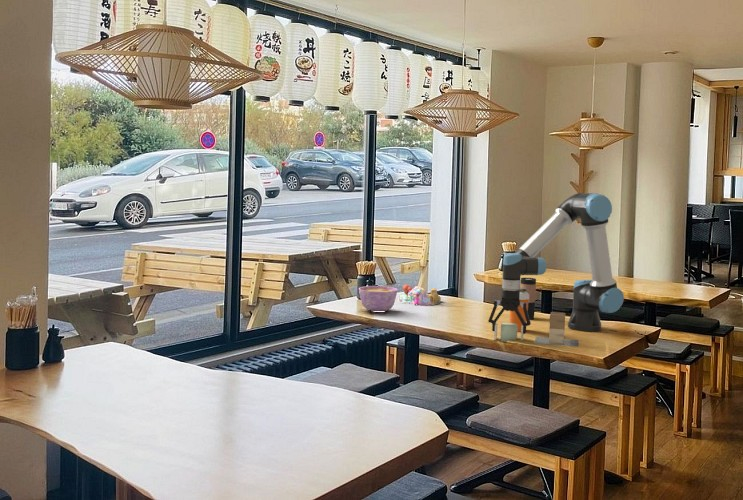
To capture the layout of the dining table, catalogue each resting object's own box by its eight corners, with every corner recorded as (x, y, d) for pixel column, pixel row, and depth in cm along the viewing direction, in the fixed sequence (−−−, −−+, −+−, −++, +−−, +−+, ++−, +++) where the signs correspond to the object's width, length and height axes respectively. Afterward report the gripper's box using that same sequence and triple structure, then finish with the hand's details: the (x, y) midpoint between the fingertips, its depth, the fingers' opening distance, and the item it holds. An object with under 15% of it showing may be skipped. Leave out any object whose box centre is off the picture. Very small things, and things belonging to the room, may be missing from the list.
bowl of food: (350, 310, 392) (350, 288, 391) (378, 306, 405) (379, 284, 404) (376, 316, 377) (377, 293, 376) (405, 312, 390) (406, 289, 389)
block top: (550, 325, 329) (550, 312, 328) (564, 326, 327) (565, 313, 326) (549, 328, 323) (550, 314, 322) (564, 329, 321) (564, 315, 321)
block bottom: (549, 339, 329) (550, 325, 329) (564, 340, 328) (564, 326, 327) (548, 342, 324) (549, 328, 323) (563, 343, 322) (564, 329, 321)
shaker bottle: (523, 335, 342) (525, 290, 340) (504, 332, 347) (506, 288, 344) (530, 331, 349) (532, 288, 347) (512, 329, 354) (513, 286, 352)
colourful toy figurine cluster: (442, 299, 433) (442, 283, 432) (441, 307, 409) (442, 290, 408) (398, 298, 435) (398, 281, 434) (395, 305, 412) (395, 288, 411)
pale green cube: (501, 338, 335) (502, 322, 334) (517, 339, 333) (518, 323, 332) (499, 341, 328) (500, 325, 327) (516, 342, 326) (516, 326, 325)
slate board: (535, 338, 334) (536, 336, 334) (578, 342, 330) (578, 340, 329) (533, 345, 322) (533, 342, 322) (577, 349, 317) (577, 346, 317)
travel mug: (518, 316, 385) (520, 277, 383) (533, 317, 384) (535, 277, 382) (519, 319, 378) (521, 279, 376) (535, 320, 377) (536, 280, 375)
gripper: (482, 288, 328) (480, 339, 330) (537, 292, 321) (535, 344, 324) (485, 286, 335) (483, 335, 337) (538, 289, 328) (536, 340, 331)
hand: (508, 339), depth 330 cm, fingers open, 10 cm apart
